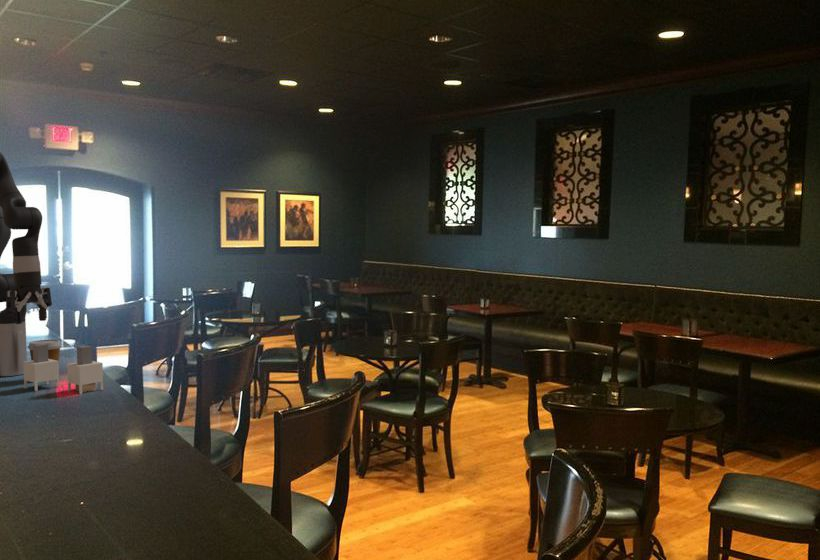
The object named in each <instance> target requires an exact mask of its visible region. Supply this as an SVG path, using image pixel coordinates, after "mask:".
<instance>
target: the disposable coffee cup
mask: <svg viewBox="0 0 820 560" xmlns="http://www.w3.org/2000/svg"><path fill="white" fill-rule="evenodd" d="M37 344H47V345H48V359H52V360H57V361H60V352H61V347H62V343H61V341H60V340H59V339H41V340H40V339H39V340H32V341H30V342H29V343H28V346H27V348H28V350H29V354H30V355H29V356H30V359H31V360H30V361H33V345H37Z"/></svg>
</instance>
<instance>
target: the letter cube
mask: <svg viewBox="0 0 820 560" xmlns="http://www.w3.org/2000/svg"><path fill="white" fill-rule="evenodd" d="M96 383H97V382H96ZM96 383H91V384H85V385H82V393H87V391H88V392H92V390H93V391H96V390H97V385H96ZM74 385H75V386H74V387H75V391H76V392H79V385H76V384H74Z"/></svg>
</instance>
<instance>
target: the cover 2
mask: <svg viewBox="0 0 820 560" xmlns="http://www.w3.org/2000/svg"><path fill="white" fill-rule="evenodd" d="M66 367H67V368H66V370H67V371H66V373H67V392H71V391H72V384H73V385H75V384H76V385H79V391H78V393H79V394H80V395H82V394H83V392H82V385H85V384H91V383H99V386H100V389H99V390H101V391H103V390H104V374H103V373H104V371H103V370H104V369H103V367H104V365H103V362H100V361H95V360H93V347H92V345H81V346H76V362H70V363H67V364H66Z"/></svg>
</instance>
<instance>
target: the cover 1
mask: <svg viewBox="0 0 820 560" xmlns="http://www.w3.org/2000/svg"><path fill="white" fill-rule="evenodd" d="M59 361H60V360H59ZM59 361H57V360H52V359H48V345H47V344H37V345H33V361H31V360H27V361H26V362H23V365H24V374H23V386H24V387H23V388H24V389H28V382H30V383H33V384H34V387H33V388H34V391H35V392H39V390H38V383H42V382H45V385H46V386H47V385H50V381H56V382H55V383H56V384H55V385H56V388H60V370H59V369H60V366H59V363H60V362H59Z"/></svg>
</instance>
